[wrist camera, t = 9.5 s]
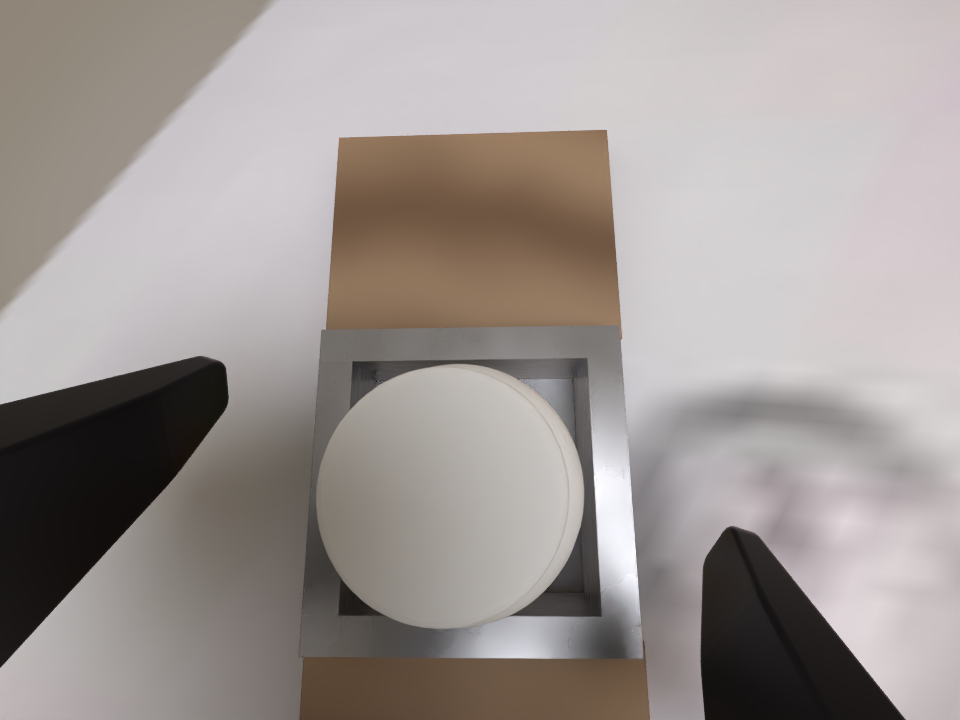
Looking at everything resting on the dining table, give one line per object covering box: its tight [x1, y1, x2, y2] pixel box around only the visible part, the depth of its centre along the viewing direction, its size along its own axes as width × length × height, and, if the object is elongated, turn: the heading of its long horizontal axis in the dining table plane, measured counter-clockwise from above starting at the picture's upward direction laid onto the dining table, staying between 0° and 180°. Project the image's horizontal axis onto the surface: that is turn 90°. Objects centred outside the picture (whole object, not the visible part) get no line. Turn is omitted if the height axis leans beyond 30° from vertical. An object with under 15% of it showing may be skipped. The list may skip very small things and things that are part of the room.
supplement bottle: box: [316, 364, 584, 629], centre depth 13 cm, size 5×5×10 cm
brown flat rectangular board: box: [300, 130, 650, 720], centre depth 17 cm, size 25×10×1 cm, turn 0°
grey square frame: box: [299, 325, 643, 659], centre depth 16 cm, size 9×9×3 cm
